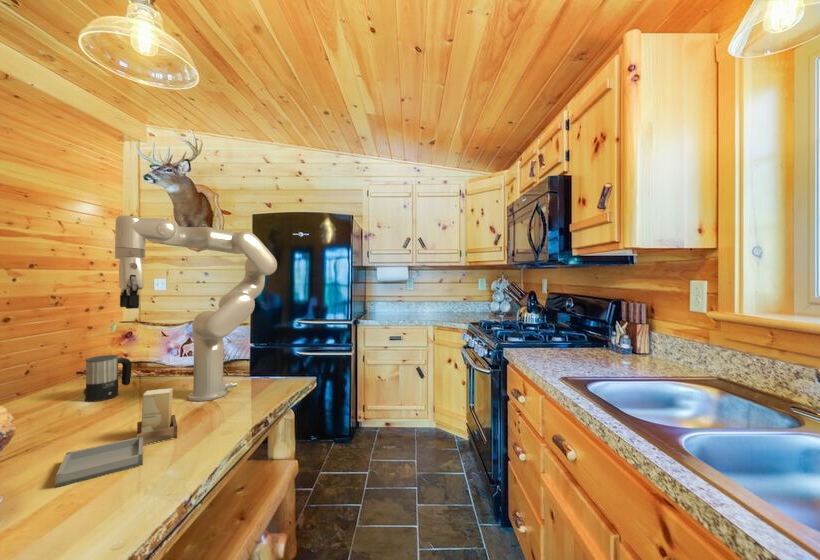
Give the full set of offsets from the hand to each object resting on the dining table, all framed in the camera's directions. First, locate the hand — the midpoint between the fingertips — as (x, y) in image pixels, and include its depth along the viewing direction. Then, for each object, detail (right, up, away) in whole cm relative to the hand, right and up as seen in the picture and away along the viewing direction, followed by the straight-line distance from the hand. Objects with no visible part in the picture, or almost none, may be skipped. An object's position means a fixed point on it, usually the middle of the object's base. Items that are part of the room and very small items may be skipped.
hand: (129, 307), depth 108 cm
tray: (+20, -34, -30) cm, 49 cm away
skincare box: (+21, -34, -15) cm, 43 cm away
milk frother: (-26, -35, +17) cm, 46 cm away
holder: (+21, -34, -15) cm, 43 cm away
